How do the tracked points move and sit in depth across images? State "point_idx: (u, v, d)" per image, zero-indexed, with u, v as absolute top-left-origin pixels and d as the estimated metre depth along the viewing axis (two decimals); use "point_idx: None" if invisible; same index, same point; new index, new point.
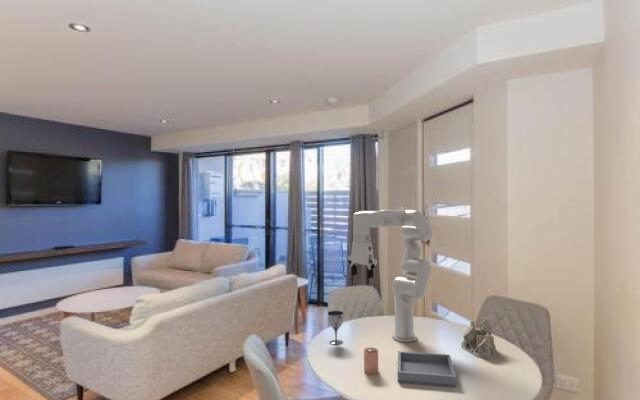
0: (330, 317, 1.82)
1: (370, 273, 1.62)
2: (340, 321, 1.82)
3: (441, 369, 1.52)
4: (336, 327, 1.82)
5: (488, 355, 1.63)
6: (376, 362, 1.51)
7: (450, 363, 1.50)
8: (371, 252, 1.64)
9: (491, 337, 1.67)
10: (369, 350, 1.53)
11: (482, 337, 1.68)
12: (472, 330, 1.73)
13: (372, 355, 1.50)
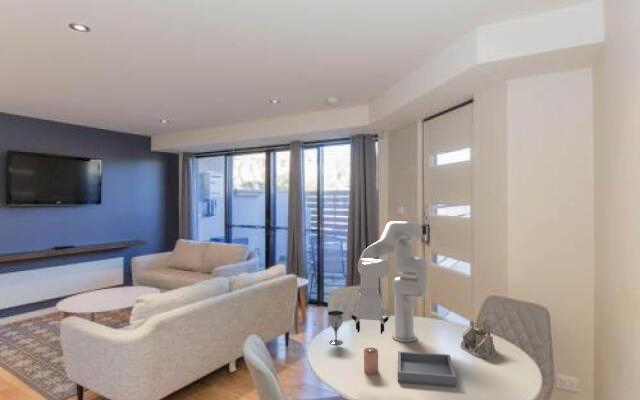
0: (330, 317, 1.82)
1: None
2: (340, 321, 1.82)
3: (441, 369, 1.52)
4: (336, 327, 1.82)
5: (488, 355, 1.63)
6: (376, 362, 1.51)
7: (450, 363, 1.50)
8: None
9: (490, 337, 1.67)
10: (369, 350, 1.53)
11: (481, 337, 1.68)
12: (471, 330, 1.73)
13: (372, 355, 1.50)
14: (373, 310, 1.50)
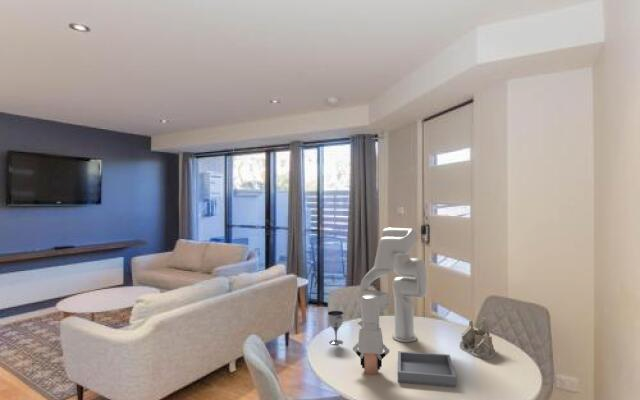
0: (330, 317, 1.82)
1: None
2: (340, 321, 1.82)
3: (441, 369, 1.52)
4: (336, 327, 1.82)
5: (487, 355, 1.63)
6: (376, 362, 1.51)
7: (450, 363, 1.50)
8: None
9: (489, 337, 1.67)
10: None
11: (480, 337, 1.68)
12: (470, 330, 1.73)
13: (372, 355, 1.50)
14: (374, 344, 1.50)
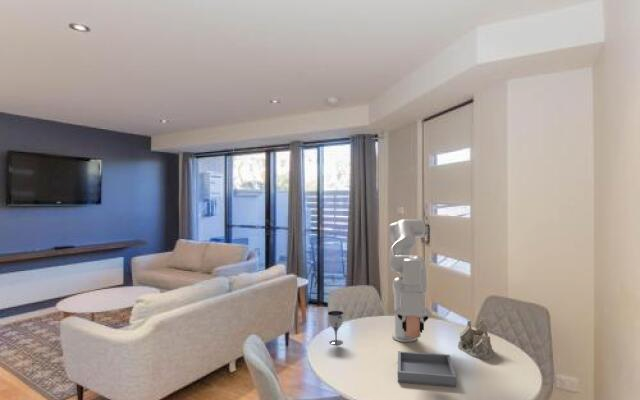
0: (330, 317, 1.82)
1: None
2: (340, 321, 1.82)
3: (441, 369, 1.52)
4: (336, 327, 1.82)
5: (485, 355, 1.63)
6: (418, 325, 1.49)
7: (450, 363, 1.50)
8: (400, 301, 1.52)
9: (488, 337, 1.67)
10: None
11: (479, 337, 1.68)
12: (469, 330, 1.73)
13: (414, 318, 1.49)
14: (417, 307, 1.49)
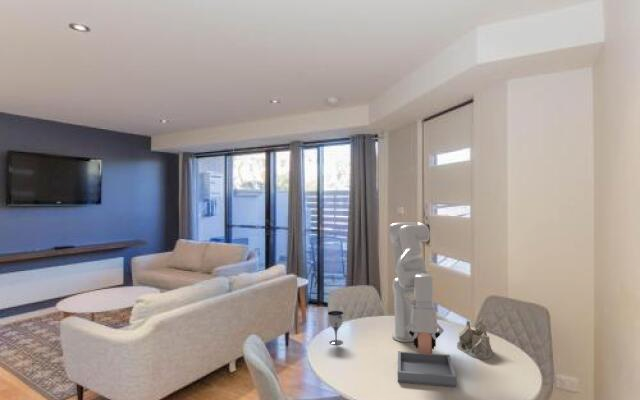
0: (330, 317, 1.82)
1: None
2: (340, 321, 1.82)
3: (441, 369, 1.52)
4: (336, 327, 1.82)
5: (484, 355, 1.63)
6: (430, 342, 1.49)
7: (450, 363, 1.50)
8: (411, 318, 1.51)
9: (487, 337, 1.67)
10: None
11: (478, 337, 1.68)
12: (468, 330, 1.73)
13: (426, 335, 1.48)
14: (428, 323, 1.48)
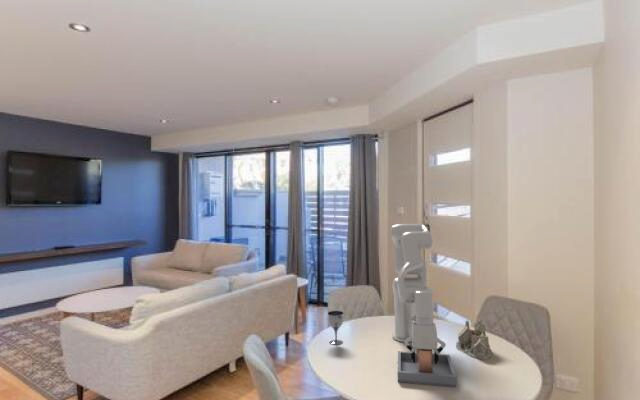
0: (330, 317, 1.82)
1: None
2: (340, 321, 1.82)
3: (441, 369, 1.52)
4: (336, 327, 1.82)
5: (484, 355, 1.63)
6: (431, 360, 1.49)
7: (450, 363, 1.50)
8: (412, 333, 1.52)
9: (486, 337, 1.67)
10: None
11: (477, 337, 1.68)
12: (467, 330, 1.73)
13: (426, 354, 1.48)
14: (429, 340, 1.48)
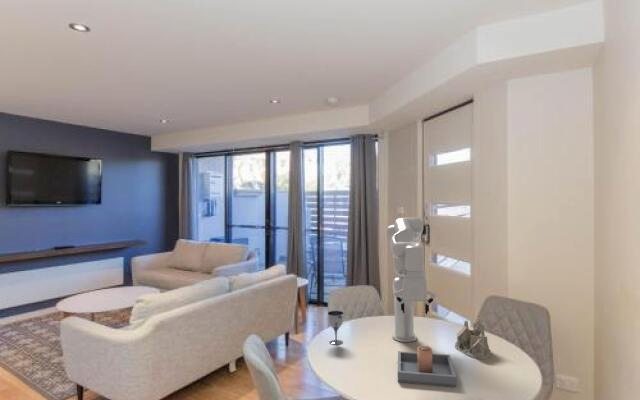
0: (330, 317, 1.82)
1: None
2: (340, 321, 1.82)
3: (441, 369, 1.52)
4: (336, 327, 1.82)
5: (482, 356, 1.63)
6: (431, 360, 1.49)
7: (450, 363, 1.50)
8: (402, 287, 1.58)
9: (485, 337, 1.67)
10: (423, 348, 1.51)
11: (476, 337, 1.68)
12: (466, 330, 1.73)
13: (426, 354, 1.48)
14: (419, 292, 1.55)
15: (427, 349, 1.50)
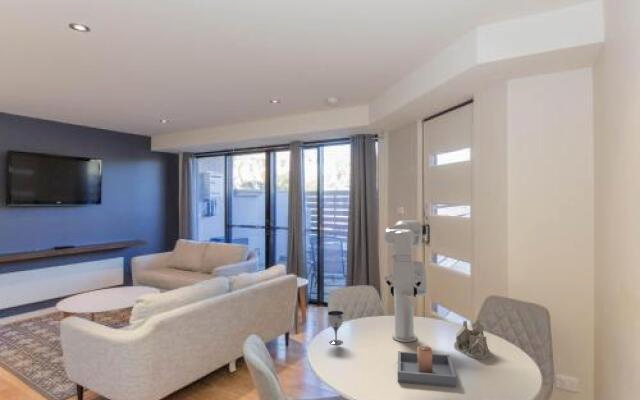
0: (330, 317, 1.82)
1: None
2: (340, 321, 1.82)
3: (441, 369, 1.52)
4: (336, 327, 1.82)
5: (482, 356, 1.63)
6: (431, 360, 1.49)
7: (450, 363, 1.50)
8: (392, 270, 1.66)
9: (484, 337, 1.67)
10: (423, 348, 1.51)
11: (475, 337, 1.68)
12: (465, 330, 1.73)
13: (426, 354, 1.48)
14: (407, 275, 1.63)
15: (427, 349, 1.50)
